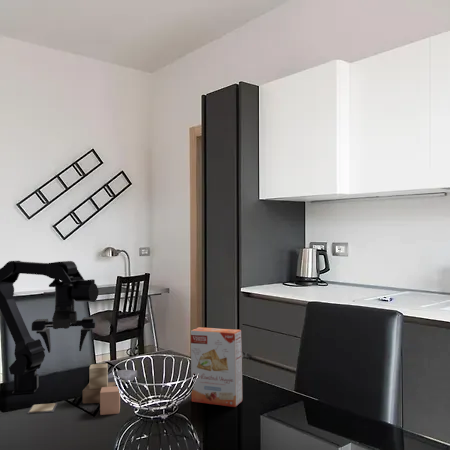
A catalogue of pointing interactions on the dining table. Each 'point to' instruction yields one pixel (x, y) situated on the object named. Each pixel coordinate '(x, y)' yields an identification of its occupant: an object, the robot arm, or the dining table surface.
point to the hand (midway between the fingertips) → (64, 351)
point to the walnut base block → (93, 393)
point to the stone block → (123, 375)
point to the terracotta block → (109, 400)
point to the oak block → (98, 376)
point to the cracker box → (216, 366)
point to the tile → (42, 408)
